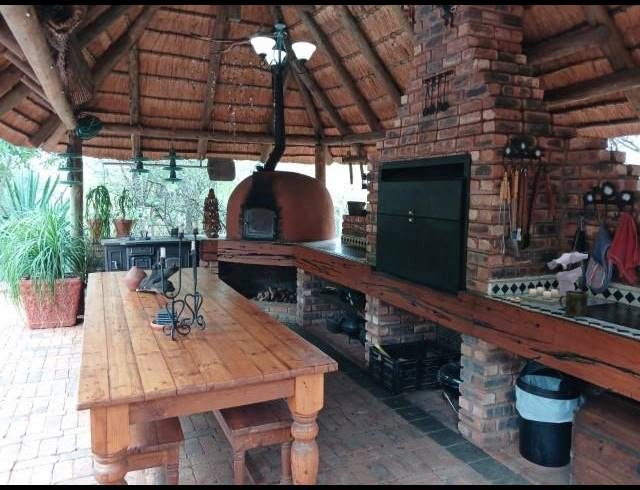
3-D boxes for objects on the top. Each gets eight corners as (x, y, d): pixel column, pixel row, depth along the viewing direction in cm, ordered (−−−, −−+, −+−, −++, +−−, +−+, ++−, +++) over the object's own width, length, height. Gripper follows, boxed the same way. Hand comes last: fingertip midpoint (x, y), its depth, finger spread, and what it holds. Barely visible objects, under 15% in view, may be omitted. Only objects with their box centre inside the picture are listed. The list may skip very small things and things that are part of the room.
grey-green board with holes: (536, 295, 322) (536, 292, 321) (567, 300, 306) (568, 297, 306) (519, 299, 310) (519, 296, 309) (550, 305, 294) (551, 301, 294)
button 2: (545, 298, 304) (545, 290, 304) (551, 299, 301) (552, 291, 300) (541, 298, 302) (542, 291, 301) (548, 300, 298) (548, 292, 298)
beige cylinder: (539, 293, 317) (539, 286, 316) (545, 294, 313) (545, 287, 313) (535, 294, 314) (536, 287, 314) (541, 295, 311) (542, 288, 310)
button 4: (531, 295, 311) (531, 288, 311) (537, 296, 308) (537, 289, 307) (527, 296, 309) (528, 289, 308) (534, 297, 306) (534, 290, 305)
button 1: (553, 296, 309) (553, 289, 309) (559, 297, 306) (559, 290, 306) (549, 297, 307) (550, 289, 307) (556, 298, 304) (556, 290, 303)
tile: (512, 297, 317) (513, 296, 317) (526, 299, 310) (526, 298, 310) (504, 298, 311) (504, 297, 311) (518, 301, 304) (518, 300, 304)
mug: (591, 316, 267) (592, 294, 266) (562, 316, 268) (563, 294, 267) (582, 311, 278) (583, 290, 276) (554, 311, 279) (555, 290, 278)
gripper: (548, 256, 316) (534, 264, 309) (569, 257, 303) (556, 265, 297) (550, 267, 317) (536, 274, 311) (571, 268, 304) (558, 276, 298)
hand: (546, 271), depth 304 cm, fingers open, 7 cm apart
